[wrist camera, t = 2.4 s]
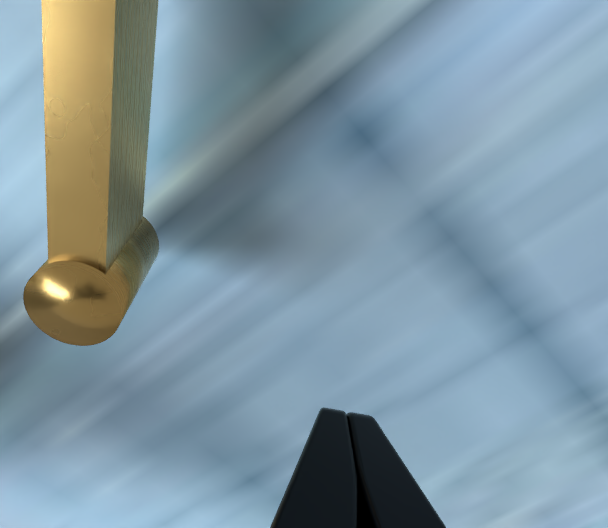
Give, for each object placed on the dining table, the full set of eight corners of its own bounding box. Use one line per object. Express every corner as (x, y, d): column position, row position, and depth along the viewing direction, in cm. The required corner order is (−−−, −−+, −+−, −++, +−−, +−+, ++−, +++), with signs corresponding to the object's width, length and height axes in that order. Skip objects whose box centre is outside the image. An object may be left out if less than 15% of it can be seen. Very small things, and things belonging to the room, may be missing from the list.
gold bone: (72, -313, 11) (-39, -443, 8) (220, -270, 11) (179, -374, 8) (72, 264, 18) (14, 334, 15) (164, 282, 18) (129, 355, 15)
